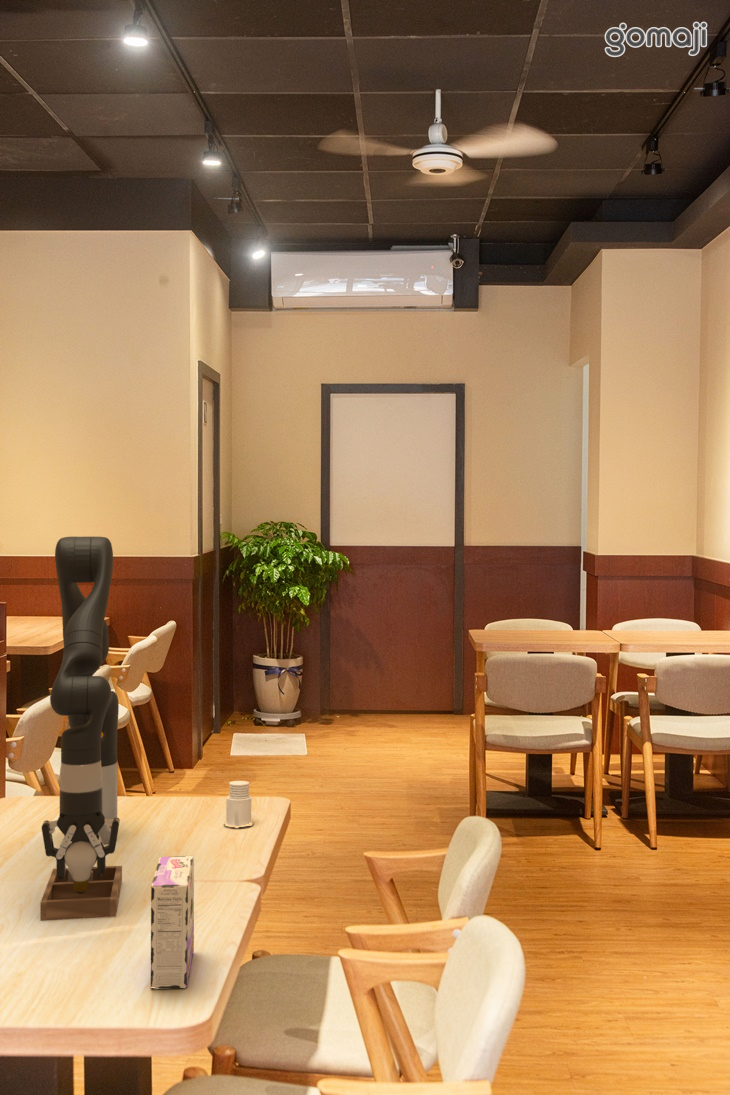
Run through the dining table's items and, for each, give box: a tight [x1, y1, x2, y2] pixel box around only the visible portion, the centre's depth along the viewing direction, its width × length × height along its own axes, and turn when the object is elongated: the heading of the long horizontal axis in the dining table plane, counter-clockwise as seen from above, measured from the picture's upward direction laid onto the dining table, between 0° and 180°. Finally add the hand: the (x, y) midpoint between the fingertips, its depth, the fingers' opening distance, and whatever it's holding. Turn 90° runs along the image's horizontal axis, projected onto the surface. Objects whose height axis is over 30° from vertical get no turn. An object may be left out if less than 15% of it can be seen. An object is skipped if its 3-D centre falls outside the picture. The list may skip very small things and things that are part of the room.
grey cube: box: [67, 867, 93, 882], centre depth 203 cm, size 4×4×4 cm
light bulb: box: [64, 841, 98, 894], centre depth 194 cm, size 6×6×10 cm
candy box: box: [150, 855, 195, 989], centre depth 170 cm, size 14×6×16 cm, turn 5°
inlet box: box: [39, 865, 123, 921], centre depth 198 cm, size 18×13×4 cm
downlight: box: [225, 780, 252, 826], centre depth 250 cm, size 8×7×10 cm
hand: (81, 876), depth 194 cm, fingers closed on light bulb, 6 cm apart
